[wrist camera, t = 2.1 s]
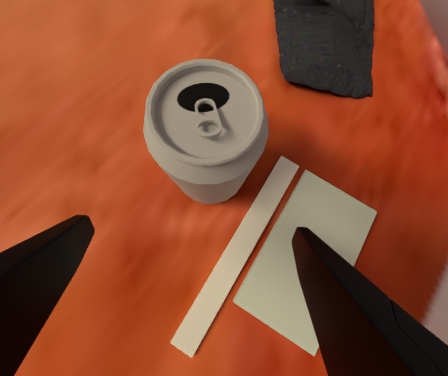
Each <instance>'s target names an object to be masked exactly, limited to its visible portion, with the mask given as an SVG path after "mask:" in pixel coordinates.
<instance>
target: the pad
mask: <svg viewBox="0 0 448 376" xmlns="http://www.w3.org/2000/svg"><path fill="white" fill-rule="evenodd" d="M376 214H377V211H375V210H374V209H372V208H370V207H368V206H367V205H365V204H363V203H362V202H360V201H358V200H357V199H355V198H353V197H352V196H350V195H348V194H346V193H345V192H343V191H341V190H340V189H338V188H336V187H335V186H333V185H331V184H330V183H328V182H326V181H324V180H323V179H321V178H319V177H318V176H316V175H314V174H313V173H311V172H309V171H308V170H305V171H304V172H303V174H302V175H301V177H300V179H299V181H298V183H297V184H296V186H295V188H294V190H293V192H292V193H291V195H290V197H289V199H288V201H287V203H286V204H285V206H284V208H283V210H282V212H281V213H280V215H279V217H278V219H277V221H276V222H275V224H274V226H273V228H272V230H271V232H270V233H269V235H268V237H267V239H266V241H265V242H264V244H263V246H262V248H261V250H260V251H259V253H258V255H257V257H256V259H255V260H254V262H253V264H252V266H251V268H250V270H249V271H248V273H247V275H246V277H245V279H244V280H243V282H242V284H241V286H240V288H239V289H238V291H237V293H236V295H235V297H234V299H233V302H234V303H235V304H237V305H238V306H240V307H241V308H243V309H244V310H246V311H247V312H249V313H250V314H252V315H253V316H255V317H256V318H258V319H259V320H261V321H262V322H264V323H265V324H267V325H268V326H270V327H271V328H273V329H274V330H276V331H277V332H279V333H280V334H282V335H283V336H285V337H286V338H288V339H289V340H291V341H292V342H294V343H295V344H297V345H298V346H300V347H301V348H303V349H304V350H306V351H307V352H309V353H310V354H312V355H313V356H314V357H315V354H316V352H317V350H318V347H319V344H318V341H317V338H316V334H315V331H314V328H313V325H312V321H311V318H310V315H309V311H308V308H307V305H306V302H305V298H304V295H303V292H302V289H301V285H300V282H299V278H298V274H297V269H296V264H295V258H294V253H293V248H292V238H293V235H294V233H295V230H296V228H297V227H307V228H309V229H310V230H311V231H312V232H313V233H315V234H316V235H317V236H318V237H319V238H320V239H322V240H323V241H324V242H325V243H326V244H327V245H329V246H330V247H331V248H332V249H333V250H334V251H336V252H337V253H338V254H339V255H340V256H341V257H343V258H344V259H345V260H346V261H347V262H348V263H350V264H351V265H352V266H353V267H354V265H355V262H356V260H357V258H358V255H359V253H360V251H361V248H362V246H363V244H364V242H365V239H366V237H367V235H368V232H369V230H370V228H371V225H372V223H373V221H374V219H375V216H376Z"/></svg>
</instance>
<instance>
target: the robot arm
mask: <svg viewBox="0 0 448 376" xmlns="http://www.w3.org/2000/svg"><path fill="white" fill-rule="evenodd" d="M94 231H95V230H94V227H93V224H92V222H91V220H90V218H89V217H88V216H87V215H75V216H73V217H71V218H69V219H67V220H65V221H63V222H61V223H59V224H57V225H55V226H53V227H51V228H49V229H47V230H45V231H43V232H41V233H39V234H37V235H35V236H33V237H31V238H29V239H27V240H25V241H23V242H21V243H19V244H17V245H15V246H13V247H11V248H9V249H7V250H5V251H3V252H1V253H0V376H14V375H15V373H16V371H17V370H18V368H19V366H20V365H21V363H22V361H23V360H24V358H25V356H26V355H27V353H28V351H29V350H30V348H31V346H32V345H33V343H34V341H35V340H36V338H37V336H38V335H39V333H40V331H41V329H42V328H43V326H44V324H45V323H46V321H47V319H48V318H49V316H50V314H51V313H52V311H53V309H54V308H55V306H56V304H57V303H58V301H59V299H60V298H61V296H62V294H63V293H64V291H65V289H66V287H67V286H68V284H69V282H70V281H71V279H72V277H73V276H74V274H75V272H76V271H77V269H78V267H79V265H80V263H81V261H82V259H83V257H84V254H85V252H86V250H87V248H88V246H89V244H90V242H91V239H92V237H93V235H94ZM292 248H293V253H294V258H295V264H296V269H297V274H298V278H299V282H300V285H301V289H302V292H303V295H304V298H305V302H306V305H307V308H308V311H309V315H310V318H311V321H312V325H313V328H314V331H315V334H316V338H317V341H318V344H319V348H320V351H321V354H322V357H323V361H324V364H325V367H326V370H327V374H328V376H448V345H447V344H445V343H444V342H443V341H441V340H440V339H439V338H438V337H436V336H435V335H434V334H433V333H431V332H430V331H429V330H428V329H426V328H425V327H424V326H423V325H421V324H420V323H419V322H418V321H417V320H415V319H414V318H413V317H412V316H411V315H409V314H408V313H407V312H406V311H405V310H403V309H402V308H401V307H400V306H399V305H398V304H396V303H395V302H394V301H393V300H390V298H389V297H388V296H387V295H386V294H385V293H383V292H382V291H381V290H380V289H379V288H378V287H376V286H375V285H374V284H373V283H372V282H371V281H369V280H368V279H367V278H366V277H365V276H364V275H362V274H361V273H360V272H359V271H358V270H357V269H355V268H354V267H353V266H352V265H351V264H350V263H348V262H347V261H346V260H345V259H344V258H343V257H341V256H340V255H339V254H338V253H337V252H336V251H334V250H333V249H332V248H331V247H330V246H329V245H327V244H326V243H325V242H324V241H323V240H322V239H320V238H319V237H318V236H317V235H316V234H315V233H313V232H312V231H311V230H310V229H309V228H307V227H297V228H296V230H295V233H294V235H293V238H292Z"/></svg>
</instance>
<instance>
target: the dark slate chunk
mask: <svg viewBox="0 0 448 376" xmlns="http://www.w3.org/2000/svg"><path fill="white" fill-rule="evenodd" d="M373 1H374V0H273V2H274V10H275V18H276V32H277V35H278V44H279V53H280V68H281V71H282V75H283V77H284V79H285V80H286V81H291V82H295V83H298V84H302V85H305V86H308V87H313V88H315V89H320V90H325V91H330V92H331V93H333V94H336V95H339V96H348V97H351V98H359V97H360V98H363V97H365V96H367V95H368V96H370V97H372V90H373V89H372V84H373V83H372V77H371V69H372V53H373V52H372V50H373V28H374V22H373V21H374V18H373V16H374V7H373V3H374V2H373Z"/></svg>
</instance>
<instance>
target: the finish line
mask: <svg viewBox="0 0 448 376" xmlns="http://www.w3.org/2000/svg"><path fill="white" fill-rule="evenodd" d="M298 168H299V166H298V165H297V164H295V163H293V162H292V161H290V160H288V159H286V158H285V157H283V156H280V158H279V160H278V161H277V163H276V165H275V166H274V168H273V170H272V171H271V173H270V175H269V176H268V178H267V180H266V182H265V183H264V185H263V187H262V188H261V190H260V192H259V193H258V195H257V197H256V198H255V200H254V202H253V203H252V205H251V207H250V208H249V210H248V212H247V214H246V215H245V217H244V219H243V220H242V222H241V224H240V225H239V227H238V229H237V230H236V232H235V234H234V235H233V237H232V239H231V240H230V242H229V244H228V246H227V247H226V249H225V251H224V252H223V254H222V256H221V257H220V259H219V261H218V262H217V264H216V266H215V267H214V269H213V271H212V272H211V274H210V276H209V278H208V279H207V281H206V283H205V284H204V286H203V288H202V289H201V291H200V293H199V294H198V296H197V298H196V299H195V301H194V303H193V304H192V306H191V308H190V310H189V311H188V313H187V315H186V316H185V318H184V320H183V321H182V323H181V325H180V326H179V328H178V330H177V331H176V333H175V335H174V337H173V338H172V340H171V342H170V343H171V344H173V345H174V346H175V347H177V348H178V349H180V350H181V351H182V352H184V353H185V354H187V355H188V356H189V357H191V358H192V357H193V355H194V353H195V352H196V350H197V348H198V346H199V344H200V343H201V341H202V339H203V337H204V335H205V334H206V332H207V330H208V328H209V327H210V325H211V323H212V321H213V319H214V318H215V316H216V314H217V312H218V311H219V309H220V307H221V305H222V303H223V302H224V300H225V298H226V296H227V295H228V293H229V291H230V289H231V287H232V286H233V284H234V282H235V280H236V278H237V277H238V275H239V273H240V271H241V270H242V268H243V266H244V264H245V262H246V261H247V259H248V257H249V255H250V254H251V252H252V250H253V248H254V246H255V245H256V243H257V241H258V239H259V238H260V236H261V234H262V232H263V230H264V229H265V227H266V225H267V223H268V221H269V220H270V218H271V216H272V214H273V213H274V211H275V209H276V207H277V205H278V204H279V202H280V200H281V198H282V197H283V195H284V193H285V191H286V189H287V188H288V186H289V184H290V182H291V180H292V179H293V177H294V175H295V173H296V172H297V170H298Z"/></svg>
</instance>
